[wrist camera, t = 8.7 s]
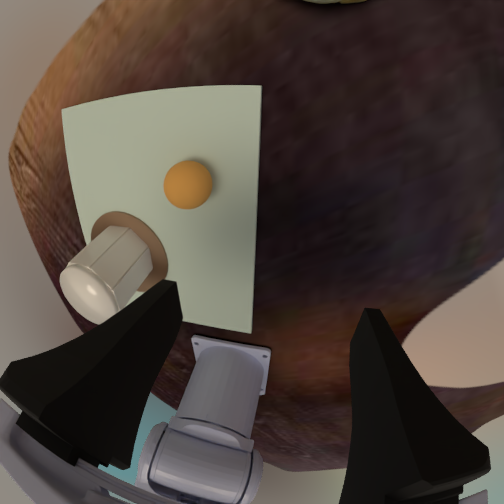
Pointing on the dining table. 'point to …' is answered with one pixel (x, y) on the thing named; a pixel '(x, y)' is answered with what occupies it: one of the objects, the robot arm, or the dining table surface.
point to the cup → (106, 273)
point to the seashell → (333, 0)
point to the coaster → (146, 235)
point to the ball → (187, 185)
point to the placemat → (152, 191)
